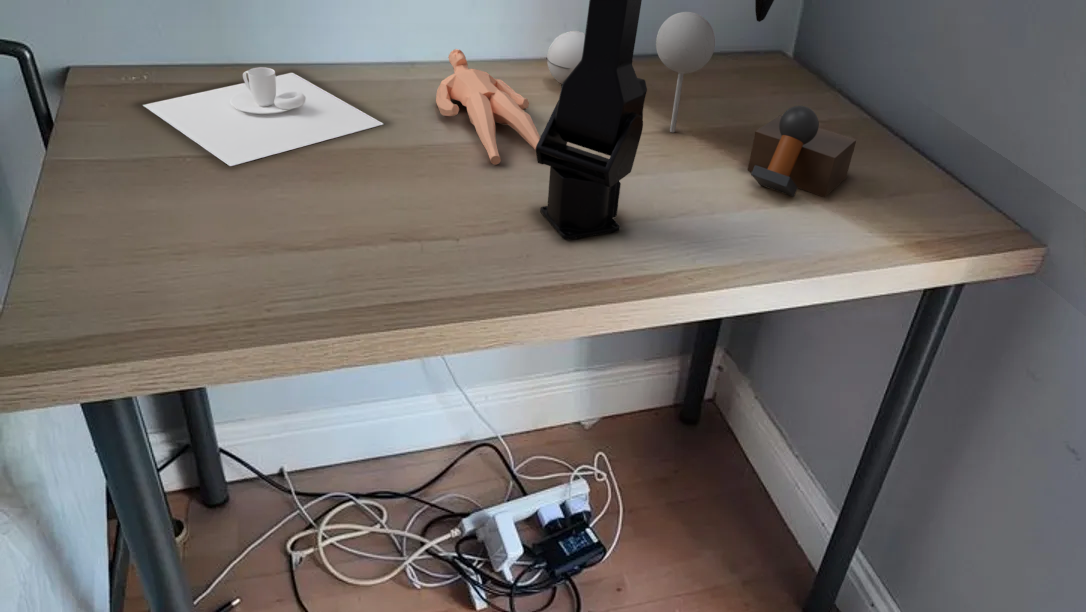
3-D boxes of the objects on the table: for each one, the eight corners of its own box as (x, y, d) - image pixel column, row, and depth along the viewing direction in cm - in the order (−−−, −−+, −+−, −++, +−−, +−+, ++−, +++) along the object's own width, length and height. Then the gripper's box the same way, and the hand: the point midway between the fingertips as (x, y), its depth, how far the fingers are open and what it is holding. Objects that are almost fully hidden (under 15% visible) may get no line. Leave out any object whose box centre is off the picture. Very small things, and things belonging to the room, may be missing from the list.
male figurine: (477, 140, 105) (414, 45, 121) (475, 179, 108) (414, 81, 125) (566, 132, 109) (493, 41, 126) (562, 170, 112) (491, 76, 129)
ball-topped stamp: (781, 207, 106) (800, 127, 101) (746, 194, 108) (763, 115, 103) (809, 183, 112) (828, 107, 107) (775, 172, 114) (793, 96, 109)
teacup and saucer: (316, 110, 116) (313, 77, 113) (257, 124, 111) (253, 91, 108) (277, 87, 120) (274, 55, 118) (218, 100, 115) (213, 67, 113)
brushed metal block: (824, 197, 110) (835, 157, 107) (747, 170, 114) (755, 131, 111) (846, 177, 115) (856, 139, 112) (771, 152, 118) (779, 114, 116)
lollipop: (700, 124, 124) (719, 8, 115) (699, 146, 118) (720, 25, 109) (646, 117, 124) (661, 0, 115) (643, 139, 118) (658, 18, 109)
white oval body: (535, 78, 131) (538, 25, 127) (581, 73, 135) (586, 21, 130) (569, 105, 125) (574, 50, 120) (617, 99, 128) (623, 46, 124)
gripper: (856, -124, 104) (832, 10, 115) (725, -165, 113) (714, -37, 125) (795, -95, 99) (776, 43, 110) (662, -140, 108) (657, -9, 119)
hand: (730, 7), depth 116 cm, fingers open, 9 cm apart
